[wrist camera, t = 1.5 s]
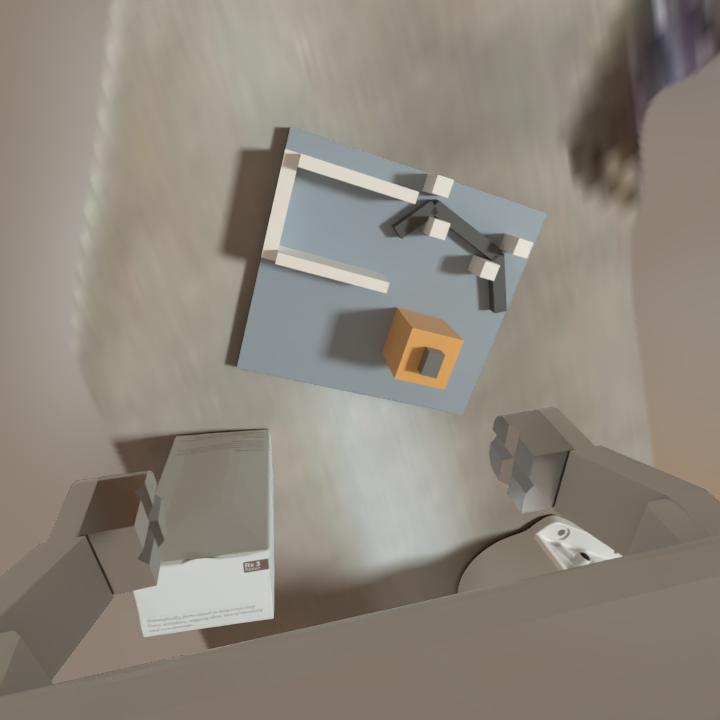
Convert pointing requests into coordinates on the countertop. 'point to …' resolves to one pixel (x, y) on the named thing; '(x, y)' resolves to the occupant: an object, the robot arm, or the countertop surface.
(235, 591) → the skincare box
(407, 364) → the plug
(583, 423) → the countertop surface
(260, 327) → the board
